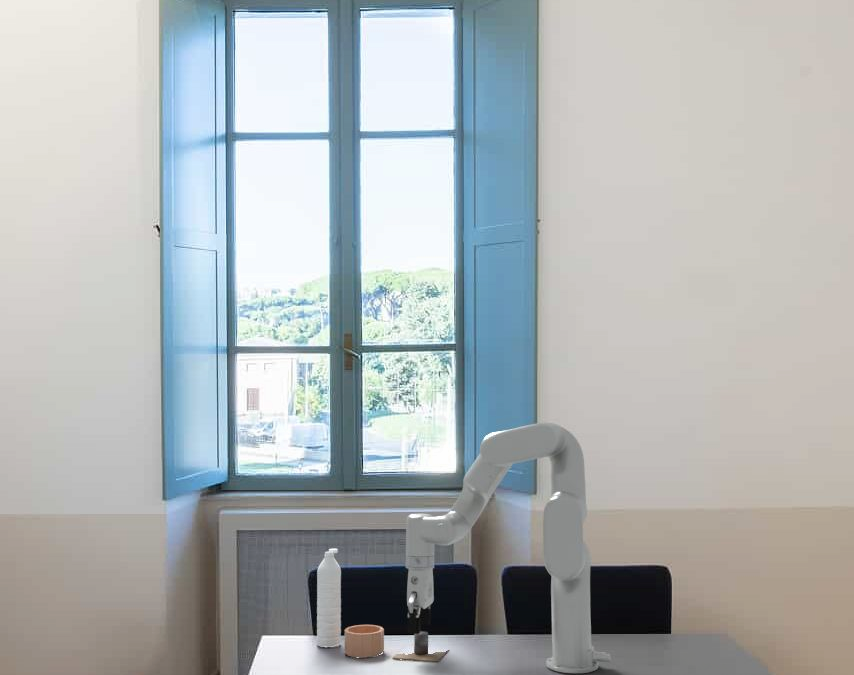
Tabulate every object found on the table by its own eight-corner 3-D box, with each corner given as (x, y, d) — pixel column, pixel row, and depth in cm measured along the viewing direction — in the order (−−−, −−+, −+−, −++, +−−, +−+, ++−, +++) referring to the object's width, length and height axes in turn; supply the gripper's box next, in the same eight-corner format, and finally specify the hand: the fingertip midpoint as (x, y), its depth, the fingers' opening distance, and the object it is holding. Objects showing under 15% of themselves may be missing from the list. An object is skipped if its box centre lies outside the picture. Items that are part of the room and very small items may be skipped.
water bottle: (337, 649, 224) (337, 553, 226) (313, 648, 225) (314, 553, 227) (345, 640, 232) (345, 548, 235) (323, 639, 233) (323, 548, 236)
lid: (449, 652, 222) (449, 629, 223) (437, 664, 210) (437, 640, 211) (405, 649, 225) (405, 626, 226) (392, 661, 214) (392, 637, 214)
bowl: (388, 649, 223) (388, 625, 224) (376, 659, 214) (376, 635, 214) (352, 646, 226) (352, 623, 226) (339, 656, 216) (339, 632, 217)
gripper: (425, 568, 211) (424, 638, 209) (441, 557, 228) (441, 622, 226) (396, 566, 213) (395, 635, 211) (415, 555, 230) (414, 620, 228)
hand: (419, 628), depth 219 cm, fingers open, 9 cm apart
